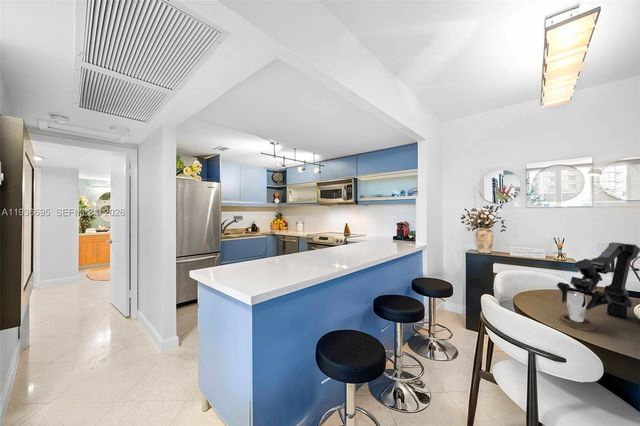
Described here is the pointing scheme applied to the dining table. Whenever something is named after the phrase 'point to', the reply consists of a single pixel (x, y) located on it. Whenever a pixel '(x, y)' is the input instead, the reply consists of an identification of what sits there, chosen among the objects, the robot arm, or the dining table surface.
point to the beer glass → (576, 306)
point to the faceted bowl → (586, 326)
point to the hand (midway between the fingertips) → (574, 305)
